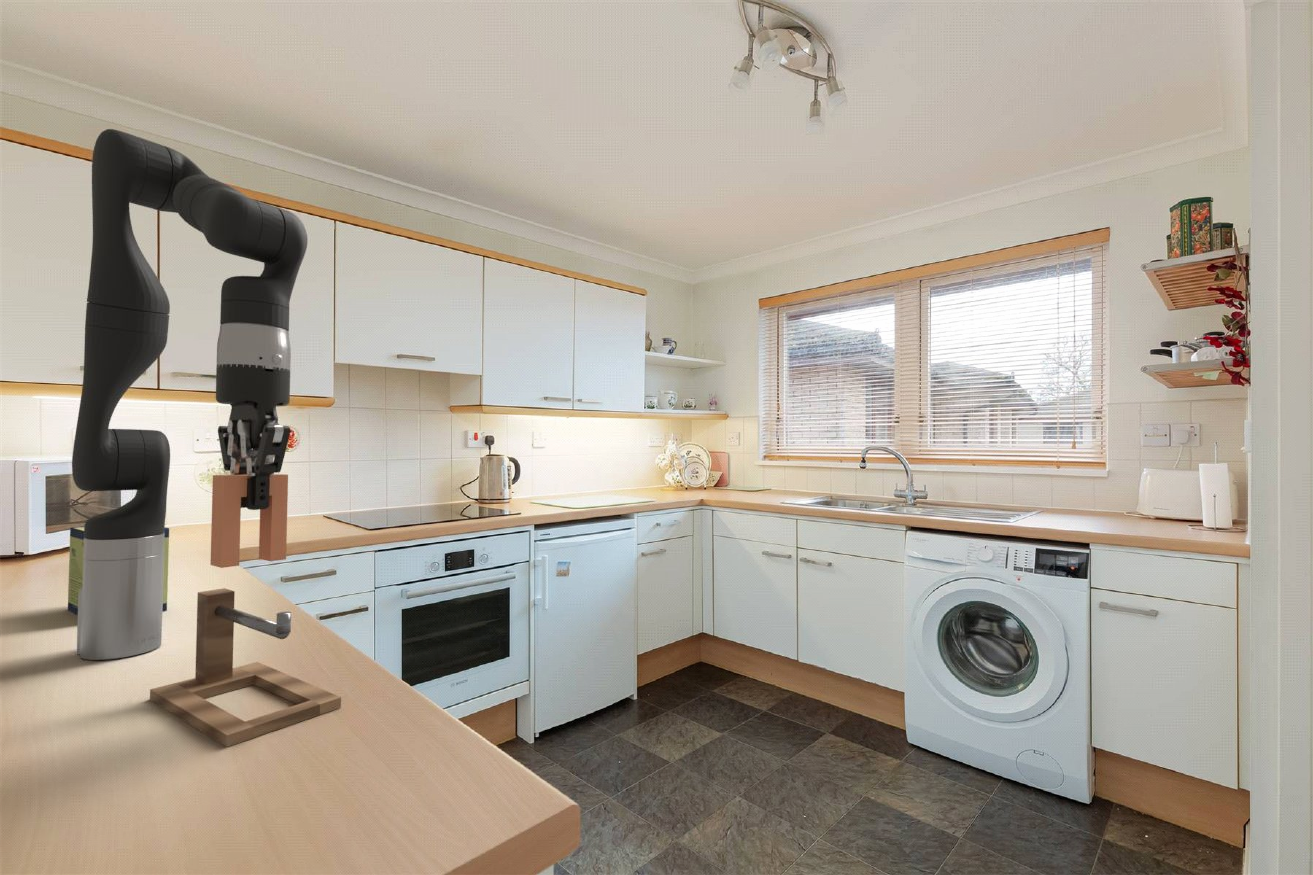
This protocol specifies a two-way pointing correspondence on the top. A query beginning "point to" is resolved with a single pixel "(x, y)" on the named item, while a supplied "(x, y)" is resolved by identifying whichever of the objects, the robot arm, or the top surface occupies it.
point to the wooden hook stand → (234, 683)
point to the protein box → (77, 567)
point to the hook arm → (258, 621)
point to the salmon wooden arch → (229, 513)
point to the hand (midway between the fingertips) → (250, 507)
